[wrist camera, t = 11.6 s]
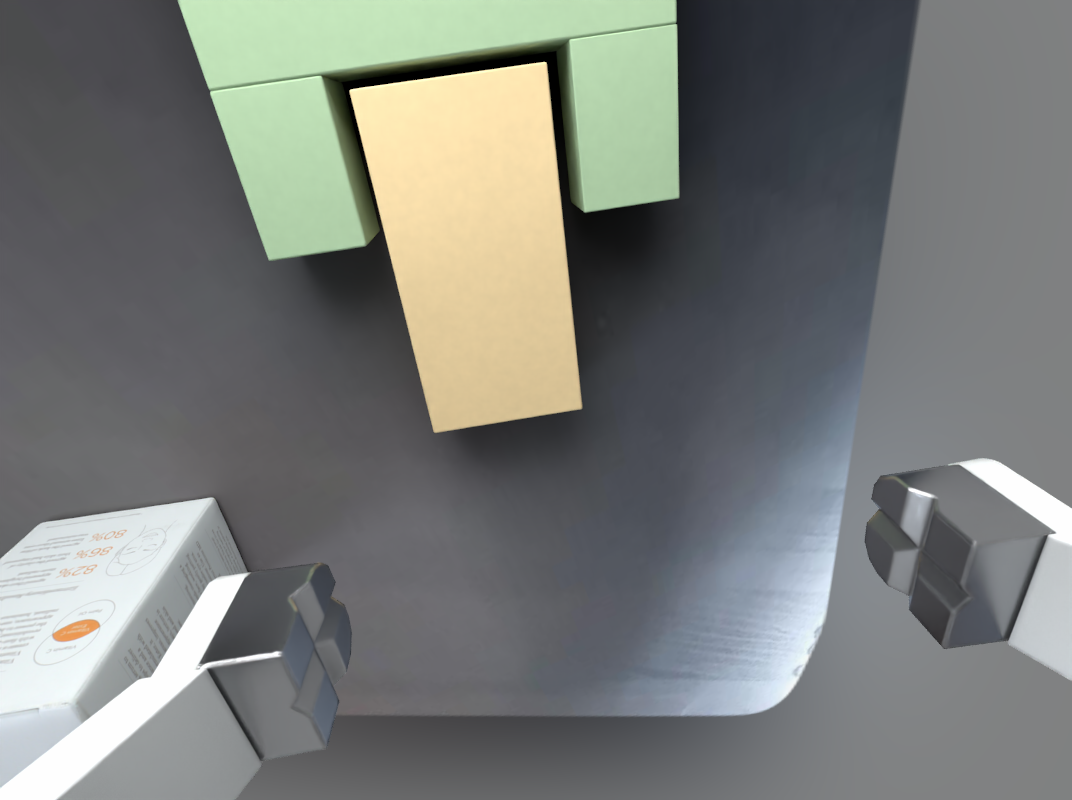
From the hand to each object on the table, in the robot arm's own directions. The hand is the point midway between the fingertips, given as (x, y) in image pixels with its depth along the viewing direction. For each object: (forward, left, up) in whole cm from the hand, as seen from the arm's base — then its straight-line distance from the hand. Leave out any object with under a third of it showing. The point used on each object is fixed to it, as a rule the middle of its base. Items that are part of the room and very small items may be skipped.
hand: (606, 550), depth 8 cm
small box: (+19, +10, -16) cm, 27 cm away
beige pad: (+1, -1, -16) cm, 16 cm away
